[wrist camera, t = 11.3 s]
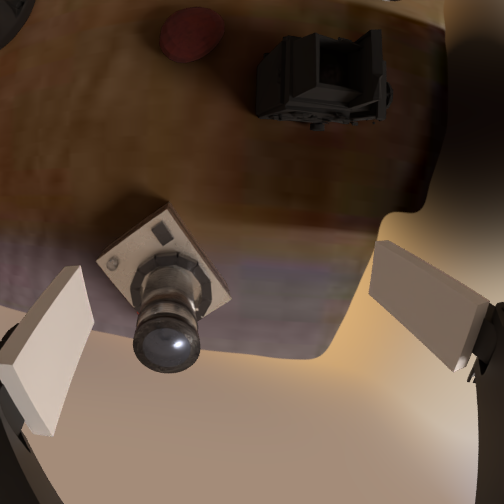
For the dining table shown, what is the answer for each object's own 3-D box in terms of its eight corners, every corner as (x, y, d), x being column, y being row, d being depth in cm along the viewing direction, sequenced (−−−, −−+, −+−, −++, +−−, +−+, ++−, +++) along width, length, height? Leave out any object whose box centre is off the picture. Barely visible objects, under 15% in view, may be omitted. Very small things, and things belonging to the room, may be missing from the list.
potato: (149, 34, 31) (144, 17, 26) (206, 7, 31) (210, -12, 26) (174, 76, 34) (172, 65, 28) (232, 48, 34) (240, 34, 29)
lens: (148, 313, 38) (140, 375, 27) (141, 268, 36) (126, 322, 25) (197, 309, 40) (206, 370, 28) (193, 264, 37) (199, 316, 26)
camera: (346, 135, 41) (448, 139, 22) (252, 126, 38) (311, 112, 20) (347, 69, 38) (445, 39, 19) (254, 55, 35) (311, -9, 16)
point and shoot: (105, 248, 39) (93, 264, 34) (169, 201, 39) (166, 211, 34) (165, 321, 45) (163, 346, 39) (226, 283, 45) (233, 303, 39)
